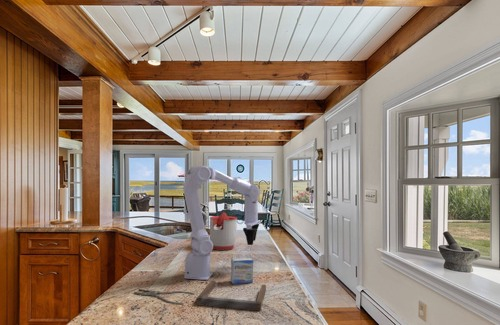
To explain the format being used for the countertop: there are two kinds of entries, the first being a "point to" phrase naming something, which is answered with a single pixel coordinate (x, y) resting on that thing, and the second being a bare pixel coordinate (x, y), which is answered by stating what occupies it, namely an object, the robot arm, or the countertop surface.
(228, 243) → the citrus juicer
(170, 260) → the countertop surface
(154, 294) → the pliers
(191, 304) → the countertop surface
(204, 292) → the bay
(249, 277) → the medicine box
